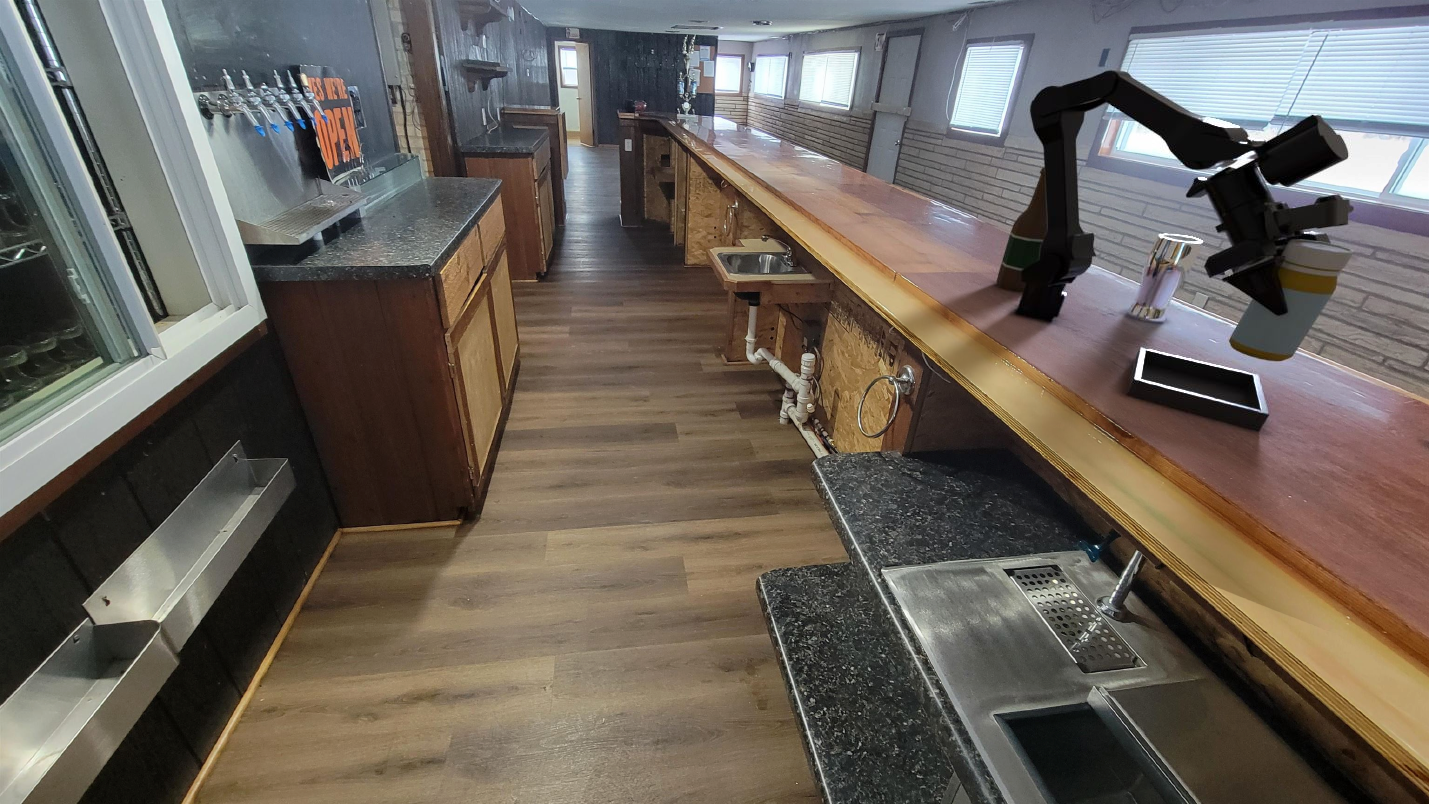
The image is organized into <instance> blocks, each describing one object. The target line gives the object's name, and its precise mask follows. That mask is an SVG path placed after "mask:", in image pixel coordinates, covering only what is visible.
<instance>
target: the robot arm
mask: <svg viewBox="0 0 1429 804" xmlns="http://www.w3.org/2000/svg"><path fill="white" fill-rule="evenodd" d="M1106 104H1108V105H1110V106H1111V107H1113V108H1114V109H1116V110H1118V111H1119V112H1120V113H1122V114H1124V115H1125V116H1127V117H1129V118H1130V119H1132V120H1133V121H1134V122H1137V123H1138V124H1140V125H1141V126H1143V127H1145V128H1146V129H1148V130H1149V131H1151V132H1152V133H1153V134H1155V135H1157V136H1159V137H1160V139H1162V140H1163V142H1165V144H1166V147H1167V148H1168V150H1169V152H1170V153H1171V154H1172V155H1173V156H1175V158H1176V159H1177V160H1178V161H1179V162H1180V163H1181V164H1182V165H1183V166H1184V167H1185V168H1187V169H1190V170H1192V171H1193V170H1194V171H1206V170H1219V169H1222V170H1220V171H1218V172H1216V173H1214V174H1212V175H1211V176H1209V177H1207V178H1205V177H1195V178H1194V179H1193V181H1192V185H1191V186H1190V187H1189V188H1188V190H1187V192H1186V194H1185V197H1186V198H1187V199H1194V198H1196V199H1198V198H1199V199H1200V198H1203V197H1205V196H1207V198H1208V200H1209V202H1210V205H1211V207H1212V208H1213V210H1214V212H1215V214H1216V217H1217V220H1218V221H1219V223H1220V224H1218V225H1216V226H1214V228H1215V231H1216V232H1217V234H1223V233H1225V235H1226V238H1227V240H1228V241H1229V243H1230V247H1228V248H1225V249H1223V250H1220V251H1219V252H1216V253H1214V254H1212V255H1209V256H1208V257H1207V260H1206V261H1205V263H1204V265H1203V268H1204V269H1205V271H1206V274H1207V276H1208V278H1209V279H1215V278H1220V277H1223V276H1224V277H1223V278H1221V281H1222V282H1223V283H1227V284H1229V285H1231V286H1232V287H1234V288H1235V289H1237V290H1238V291H1240V292H1242V293H1243V294H1245V295H1246V296H1248V297H1249V298H1251V300H1252V299H1254V300H1255V301H1257V302H1258V303H1259V304H1261V305H1262V306H1264V307H1265V308H1267V309H1268V310H1269V311H1271V312H1272V313H1274V314H1275V315H1277V316H1280V315H1283V314H1286V313H1288V308H1287V303H1286V300H1285V297H1284V293H1283V289H1282V286H1281V282H1280V279H1279V275H1278V271H1279V269H1280V267H1281V265H1282V263H1283V261H1284V259H1285V257H1286V256H1281V255H1282V253H1283V251H1284V249H1285V248H1286V246H1287V244H1288V242H1290V240H1293V239H1302V240H1312V241H1319V242H1325V243H1330V244H1332V242H1331V239H1330V238H1329V237H1328V236H1329V235H1328V234H1327V233H1325V232H1321V231H1317V230H1316V231H1315V230H1314V231H1313V230H1312V229H1318V230H1320V229H1326V228H1333V227H1334V228H1335V227H1342V226H1348V225H1349V214H1350V213H1352V212H1353V211H1354V208H1355V207H1354V206H1353V205H1351V203H1350V199H1349V198H1346V199H1345V198H1343V197H1342V196H1341V194H1339V193H1337V194H1331V195H1327V196H1326V195H1325V196H1319V197H1317V198H1316V200H1315V201H1314V203H1311V204H1306V205H1301V206H1296V207H1295V206H1294V207H1289V204H1288V203H1287V202H1284V201H1276V200H1275V199H1274V197H1273V195H1272V193H1271V191H1270V189H1269V187H1268V185H1267V183H1268V184H1269V185H1271V186H1273V187H1274V186H1276V185H1279V184H1280V185H1281V186H1283V187H1285V188H1290V187H1292V186H1294V185H1296V184H1299V183H1301V182H1302V181H1304V180H1307V179H1308V178H1310V177H1313V176H1315V175H1317V174H1320V173H1321V172H1323V171H1325V170H1327V169H1329V168H1332V167H1334V166H1335V165H1338V164H1340V163H1342V162H1344V161H1346V160H1348V159H1349V150H1348V147H1347V143H1346V142H1345V140H1344V138H1343V137H1342V135H1341V134H1337V132H1336V131H1335V130H1334V128H1332V126H1331V125H1330V124H1328V123H1327V122H1325V120H1324V119H1323V117H1322V115H1321V114H1311V115H1308V116H1307V117H1305V118H1304V119H1301V120H1300V121H1298V122H1297V123H1296V124H1295V125H1294V126H1292V127H1290V128H1288V129H1287V130H1285V131H1283V132H1281V133H1279V134H1278V135H1276V136H1274V137H1272V138H1270V139H1268V140H1267V141H1266V140H1265V139H1255V138H1253V137H1252V138H1251V137H1249V134H1248V132H1247V130H1246V129H1244V128H1243V127H1241V126H1239V125H1236V124H1232V123H1230V122H1227V121H1224V120H1220V119H1217V118H1212V117H1209V116H1205V115H1201V114H1198V113H1195V112H1192V111H1190V110H1188V109H1187V108H1185V107H1183V106H1181V105H1180V104H1178V103H1177V102H1174V101H1173V100H1172V99H1170V98H1168V97H1166V96H1164V95H1163V94H1161V93H1160V92H1158V91H1157V90H1154V89H1153V88H1151V87H1149V86H1147V85H1145V84H1144V83H1142V82H1140V81H1139V80H1138V79H1135V78H1134V77H1133V76H1132V75H1131V74H1130V73H1129V72H1128V71H1125V70H1116V69H1115V70H1112V69H1110V70H1105V71H1102V72H1101V73H1099V74H1096V75H1093V76H1091V77H1087V78H1083V79H1080V80H1076V81H1073V82H1069V83H1065V84H1063V85H1048V86H1046V87H1044V88H1042V89H1041V90H1040V91H1039V92H1038V93H1037V94H1036V95H1035V96H1034V98H1033V99H1032V100H1031V103H1030V105H1029V106H1030V107H1029V115H1030V119H1031V123H1032V128H1033V131H1034V133H1035V134H1036V137H1037V138H1038V140H1039V142H1040V143H1041V146H1042V149H1043V164H1044V165H1043V168H1044V169H1045V189H1046V209H1047V232H1046V235H1045V237H1044V239H1043V242H1042V244H1041V246H1040V252H1039V260H1038V261H1037V262H1035V263H1033V264H1031V265H1030V266H1028V267H1026V268H1024V269H1023V270H1022V271H1021V281H1022V282H1024V283H1026V284H1025V287H1024V290H1023V292H1021V293H1022V294H1021V297H1020V299H1019V302H1018V306H1017V308H1016V309H1015V310H1014V314H1015V315H1018V316H1023V317H1027V318H1030V319H1031V318H1032V319H1036V320H1040V321H1044V322H1048V323H1052V322H1053V321H1054V320H1055V319H1056V318H1058V317H1059V315H1060V313H1061V311H1062V308H1063V306H1064V303H1065V300H1066V297H1067V292H1065V290H1066V287H1067V284H1072V283H1073V282H1074V281H1075V280H1076V279H1077V278H1078V277H1080V276H1082V275H1083V274H1085V273H1086V272H1087V271H1088V270H1089V268H1091V266H1092V263H1093V258H1095V257H1097V254H1096V251H1095V247H1094V245H1095V244H1094V243H1095V233H1094V232H1088V233H1085V232H1084V230H1083V229H1082V227H1081V224H1080V209H1079V208H1080V207H1079V183H1078V182H1079V181H1078V160H1077V159H1078V157H1077V155H1078V154H1077V137H1078V135H1079V133H1080V131H1081V128H1082V126H1083V124H1084V121H1085V115H1086V113H1088V112H1090V111H1092V110H1095V109H1098V108H1100V107H1102V106H1103V105H1106ZM1242 160H1251V161H1248V162H1246V163H1244V164H1242V165H1241V166H1238V167H1233V166H1232V165H1234V164H1235V163H1237V162H1238V161H1242ZM1266 182H1267V183H1266ZM1307 230H1312V231H1307ZM1229 271H1231V272H1232V274H1230V275H1227V276H1226V273H1227V272H1229Z"/></svg>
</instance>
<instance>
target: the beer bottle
mask: <svg viewBox="0 0 1429 804" xmlns="http://www.w3.org/2000/svg"><path fill="white" fill-rule="evenodd" d="M1039 174H1040V176H1039V178H1038V181H1037V184H1036V187H1035V189H1034V192H1033V195H1032V197H1031V199H1030V202H1029V203H1028V206H1027V208H1026V209H1025V210H1024V211H1022V212H1021V214H1020V215H1019V216H1018V217H1017V219H1016V220H1015V221H1014V223H1013V225H1012V227H1011V230H1010V233H1009V235H1008V238H1007V239H1008V240H1007V243H1006V247H1005V250H1004V252H1003V257H1002V260H1001V262H1000V263H1001V264H1000V267H999V270H998V273H997V278H996V284H997V285H998V286H999V288H1001V289H1002V288H1003V289H1006V290H1008V291H1012V292H1021V293H1023V290H1024V287H1025V284H1026V283H1024V282H1022V281H1021V271H1022V270H1023V269H1024V268H1026V267H1028V266H1030V265H1031V264H1033V263H1035V262H1037V261H1038V260H1039V252H1040V246H1041V244H1042V242H1043V239H1044V237H1045V235H1046V232H1047V209H1046V189H1045V169H1044V167H1042V168H1041V169H1040V171H1039Z"/></svg>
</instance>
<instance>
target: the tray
mask: <svg viewBox="0 0 1429 804" xmlns="http://www.w3.org/2000/svg"><path fill="white" fill-rule="evenodd" d="M1136 353H1137V354H1136V355H1135V358H1134V359H1133V362H1132V363H1133V364H1132V368H1131V373H1130V376H1129V377H1130V378H1129V382H1128V386H1127V392H1126V396H1129V397H1133V398H1137V399H1140V400H1143V401H1148V402H1151V403H1155V404H1159V405H1161V406H1166V407H1170V408H1173V409H1177V410H1181V411H1184V412H1187V413H1191V414H1195V415H1199V416H1202V417H1206V418H1209V419H1213V420H1217V421H1221V422H1224V423H1228V424H1232V425H1235V426H1238V427H1242V428H1247V429H1250V430H1254V431H1257V432H1260V431H1261V430H1262V428H1263V426H1264V425H1265V423H1266V421H1267V419H1268V418H1269V417H1270V412H1269V408H1268V404H1267V401H1266V400H1267V399H1266V396H1265V393H1264V389H1263V388H1264V387H1263V385H1262V379H1261V377H1260V374H1256V373H1252V372H1247V371H1245V370H1244V371H1243V370H1239V369H1235V368H1230V367H1227V366H1223V365H1218V364H1214V363H1209V362H1206V361H1202V360H1196V359H1193V358H1189V357H1184V356H1180V355H1175V354H1172V353H1167V352H1162V351H1160V350H1159V351H1158V350H1154V349H1150V348H1145V347H1142V346H1140V347H1139V349H1138V351H1137V352H1136Z"/></svg>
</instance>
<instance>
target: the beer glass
mask: <svg viewBox="0 0 1429 804" xmlns="http://www.w3.org/2000/svg"><path fill="white" fill-rule="evenodd" d="M1203 242H1204V241H1203V240H1201V239H1199V238H1196V237H1193V236H1188V235H1182V234H1172V233H1160V234H1158V235H1157V238H1156V240H1155V241H1154V243H1153V245H1152V246H1151V249H1150V251H1149V253H1148V255H1147V257H1146V260H1145V263H1144V266H1143V270H1142V273H1141V278H1140V282H1139V287H1138V291H1137V294H1136V297H1135V299H1134V300H1133V302H1132V304H1131V305H1130V306H1129V308H1128V310H1127V312H1126V313H1127V315H1128V316H1129V317H1131V318H1134V319H1136V320H1140V321H1144V322H1150V323H1162V322H1164V321H1165V319H1166V316H1167V311H1168V308H1169V305H1170V303H1171V301H1172V299H1173V297H1174V296H1175V295H1176V293H1177V292H1178V290H1179V289H1180V287H1182V285H1183V284H1184V282H1185V280H1186V279H1187V277H1189V275H1190V272H1191V271H1192V269H1193V267H1194V265H1195V262H1196V260H1197V257H1198V255H1199V253H1200V250H1201V247H1202V245H1203Z"/></svg>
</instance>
